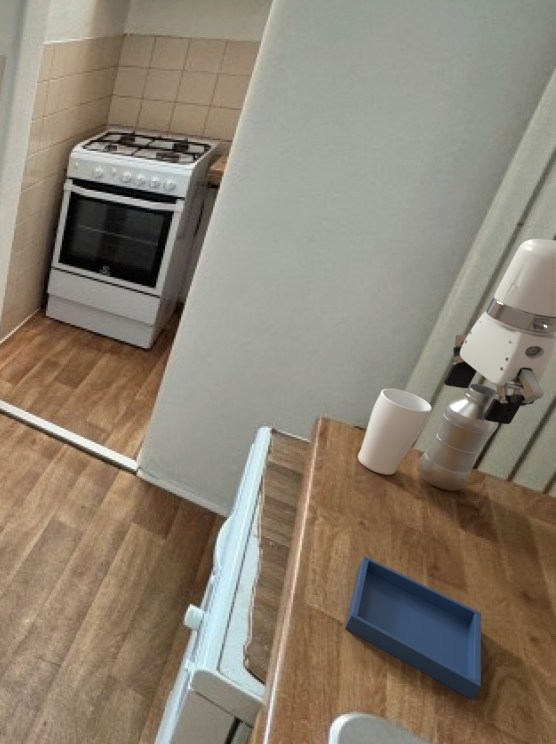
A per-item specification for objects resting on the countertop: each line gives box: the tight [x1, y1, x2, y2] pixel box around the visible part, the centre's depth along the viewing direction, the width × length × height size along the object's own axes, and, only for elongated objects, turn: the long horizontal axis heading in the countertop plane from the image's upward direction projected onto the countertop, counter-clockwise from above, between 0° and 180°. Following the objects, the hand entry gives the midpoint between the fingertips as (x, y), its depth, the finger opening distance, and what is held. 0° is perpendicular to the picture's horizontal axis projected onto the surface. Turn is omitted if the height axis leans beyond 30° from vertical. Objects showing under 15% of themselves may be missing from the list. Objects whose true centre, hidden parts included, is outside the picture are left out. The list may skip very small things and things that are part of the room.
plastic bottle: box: [416, 383, 499, 492], centre depth 104 cm, size 6×7×20 cm
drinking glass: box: [357, 388, 433, 476], centre depth 108 cm, size 7×7×15 cm
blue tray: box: [344, 555, 482, 700], centre depth 82 cm, size 14×12×3 cm
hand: (474, 403), depth 101 cm, fingers open, 9 cm apart
